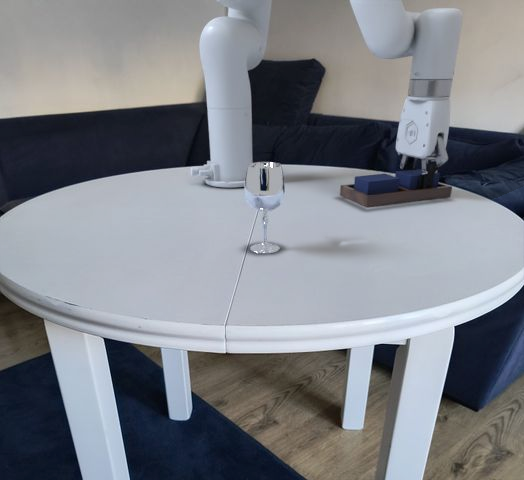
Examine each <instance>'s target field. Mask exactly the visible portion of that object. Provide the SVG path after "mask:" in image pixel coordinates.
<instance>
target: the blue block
mask: <svg viewBox="0 0 524 480" xmlns="http://www.w3.org/2000/svg"><path fill="white" fill-rule="evenodd" d="M399 180H400V178H397V177H395V175H390V174H388V173H378V174H366V175H355V176H354V182H353V184H354V189H355V190H358V191H360V192H363V193H365V194H367V195H375V194H384V193H392V192H398V188H399Z"/></svg>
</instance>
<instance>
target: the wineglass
mask: <svg viewBox="0 0 524 480" xmlns="http://www.w3.org/2000/svg"><path fill="white" fill-rule="evenodd" d="M283 171H284V170H283V167H282V164H281V163H280V162H274V161H273V162H272V161H257V162H253V163H251V164H248V167H247V171H246V177H245V185H244V187H243V189H244V198H245V201H246V203H247V205H248V207H250V208H252V209H254V210H256V211H257V212H261V213H262V214H261V218H260V219H261V224H262V227H263V228H262V229H263V231H262V232H263V233H262V235H263V237H262V241H261V242H259V243H255V244H252V245H251V246H250V248H249V249H250V251H251V252H253V253H256V254H262V255H263V254H264V255H265V254H266V255H267V254H273V253H276V252H279V251H280V249H281V248H280V246H279V245H278V244H276V243H272V242H269V241H268V239H267V229H268V228H267V226H268V222H269V215H268V212H272V211H274V210H276V209H278V208H279V207H280V206H281V205H282V204H283V201H284V199H285V194H286V184H285V176H284V172H283Z"/></svg>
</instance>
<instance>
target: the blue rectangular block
mask: <svg viewBox="0 0 524 480" xmlns="http://www.w3.org/2000/svg"><path fill="white" fill-rule="evenodd" d="M419 174H422V168H418V169H417V168H416V170H406V171H401V170H397V171H395V175H394V177H397V178H400V180H399V186H400V187H403V188H406V189H408V190H417V187H418V180H419ZM440 175H441V173H440V172H437V173H436V174H434V180H433V186H432V188H435V187H438V182H439V183H440Z"/></svg>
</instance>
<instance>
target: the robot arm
mask: <svg viewBox="0 0 524 480" xmlns="http://www.w3.org/2000/svg"><path fill="white" fill-rule="evenodd" d="M215 1H216V2H217V3H218V4H219V5H221V6H223V7H225V8H227V9H228V10H227V15H225V16H218V17H215V18H212V19H211V20H209V21H208V22H207V23H206V24H205V26H204V27H203V29H202V31H201V33H200V37H199V46H198V47H199V49H198V50H199V57H200V63H201V68H202V71H203V78H204V86H205V95H206V96H205V97H206V107H207V109H206V110H207V124H208V139H209V155H210V157H209V159H210V160H207V161H206V164H203V166H202V165H201V166H190V168H189V173H190V175H191V177H196V176H199V177H204V182H205V184H206V185H208V186H212V187H217V188H226V189H227V188H228V189H229V188H244V185H245V177H246V171H247V167H248V164H251V163H254V161H253V117H252V116H253V113H252V110H253V109H252V89H251V82H250V76H249V72H248V71H251V70H253V69H255V68H256V67H257V66H259V65H260V63H261V62H262V61H263V58H264V56H265V53H266V49H267V43H268V35H269V29H270V20H271V11H272V5H273V0H215ZM349 3H350V7H351V9H352V12H353V14H354V17H355V19H356V22H357V24H358V26H359V30H360V33H361V35H362V38H363V40H364V42H365V44H366V46H367V48H368V50H369V51H370V53H371V54H372V55H374V56H375V57H376V58H379V59H381V60H397V59H402V58H408V57H412V60H411V68H410V76H409V83H408V92H407V97H406V98H405V100H404V103H403V106H402V109H401V113H400V117H399V123H398V128H397V134H396V141H395V151H396V153H397V156H398V159H399V161H400V164H399V167H400V169H401V170H400V171H406V170H416V169H417V167H415V166H416V162H417V159H420V160H421V169H422V174H419V180H418V187H417V190H418V189H427V188H432V186H433V180H434V174H436V173H438V170H439V169H440V168H441V167H442V166H443V165H444V164H446V162H448V160H449V156H448V153H447V149H446V148H447V144H448V136H449V131H450V123H451V92H452V87H453V81H454V75H455V68H456V62H457V56H458V51H459V45H460V39H461V34H462V27H463V19H464V18H463V13H462V11H461V10H460V9H459V8H455V7H454V8H453V7H440V8H439V7H437V8H428V9H425V10H422V12H414V11H408V10H406V9H405V6H404V4H403V1H402V0H349ZM429 161H430V163H429Z"/></svg>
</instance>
